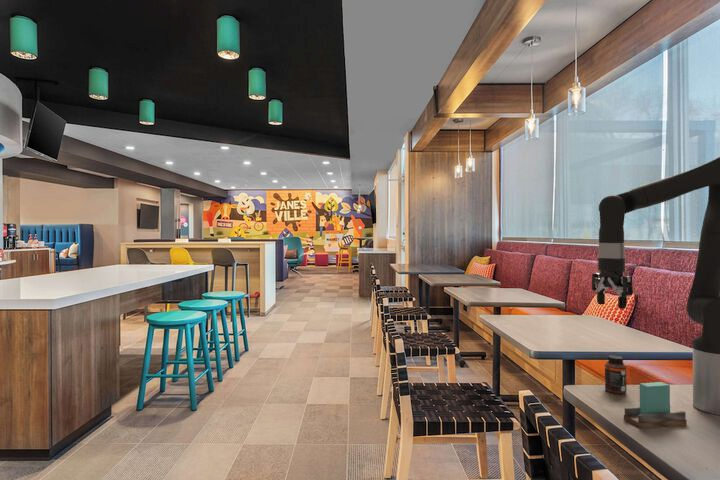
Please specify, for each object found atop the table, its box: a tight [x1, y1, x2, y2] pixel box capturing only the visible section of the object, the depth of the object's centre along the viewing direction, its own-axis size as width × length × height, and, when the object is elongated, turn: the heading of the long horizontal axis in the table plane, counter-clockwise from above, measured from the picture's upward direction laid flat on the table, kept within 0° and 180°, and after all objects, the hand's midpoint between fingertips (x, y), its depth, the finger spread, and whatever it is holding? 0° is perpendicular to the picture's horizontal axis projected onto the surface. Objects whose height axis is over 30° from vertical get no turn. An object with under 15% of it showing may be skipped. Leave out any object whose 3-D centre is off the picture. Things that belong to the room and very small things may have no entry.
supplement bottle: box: [604, 354, 628, 395], centre depth 129 cm, size 6×6×11 cm
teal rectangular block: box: [639, 381, 671, 415], centre depth 108 cm, size 7×2×9 cm, turn 99°
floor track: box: [623, 406, 688, 429], centre depth 108 cm, size 14×6×3 cm, turn 99°
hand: (611, 306), depth 129 cm, fingers open, 8 cm apart
